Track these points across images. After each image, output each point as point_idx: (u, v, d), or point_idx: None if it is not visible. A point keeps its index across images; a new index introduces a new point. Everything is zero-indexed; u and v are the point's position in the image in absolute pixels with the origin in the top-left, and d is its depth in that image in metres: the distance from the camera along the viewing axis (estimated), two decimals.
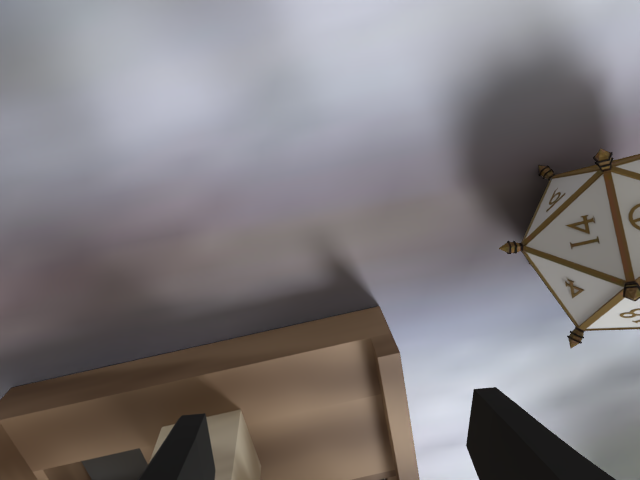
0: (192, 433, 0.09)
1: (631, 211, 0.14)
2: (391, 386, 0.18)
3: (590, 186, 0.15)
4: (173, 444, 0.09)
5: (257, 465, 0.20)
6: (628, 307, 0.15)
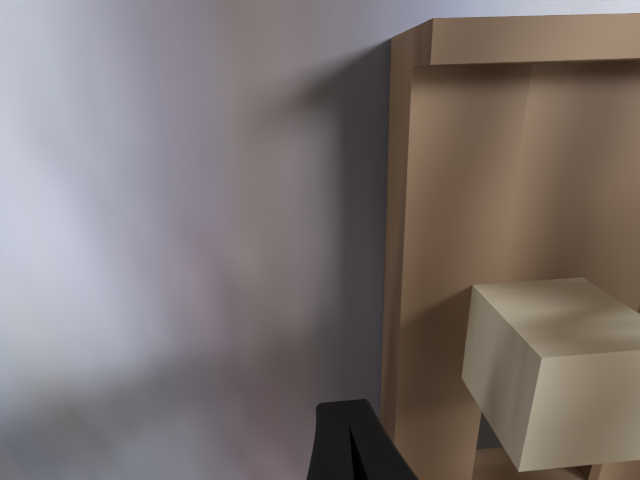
0: (342, 419, 0.09)
1: None
2: (500, 45, 0.10)
3: None
4: (330, 429, 0.09)
5: (574, 284, 0.14)
6: None
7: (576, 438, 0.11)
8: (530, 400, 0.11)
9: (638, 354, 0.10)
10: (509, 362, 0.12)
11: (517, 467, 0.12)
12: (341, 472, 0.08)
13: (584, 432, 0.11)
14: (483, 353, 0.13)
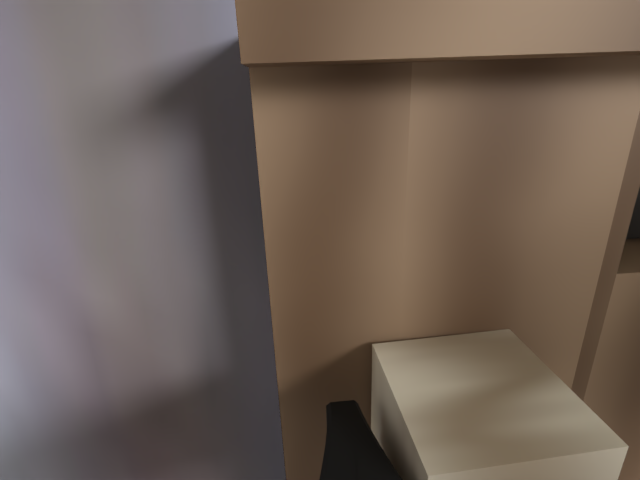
0: (353, 418, 0.09)
1: None
2: (338, 37, 0.07)
3: None
4: (341, 428, 0.09)
5: (497, 341, 0.11)
6: None
7: None
8: None
9: (561, 461, 0.08)
10: (402, 460, 0.09)
11: None
12: (354, 471, 0.08)
13: None
14: (383, 434, 0.10)
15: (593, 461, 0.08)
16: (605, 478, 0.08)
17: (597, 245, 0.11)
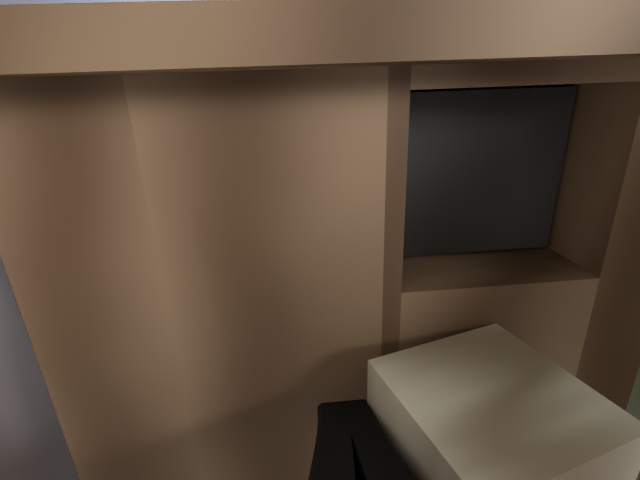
0: (344, 419, 0.09)
1: None
2: None
3: None
4: (331, 429, 0.09)
5: (490, 338, 0.10)
6: None
7: None
8: None
9: (600, 460, 0.07)
10: None
11: None
12: (343, 472, 0.08)
13: None
14: None
15: (625, 452, 0.07)
16: (633, 466, 0.08)
17: (373, 264, 0.10)
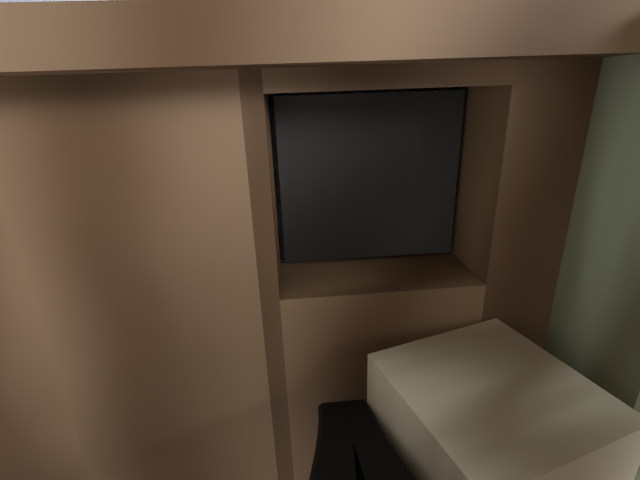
0: (345, 419, 0.09)
1: None
2: None
3: None
4: (332, 429, 0.09)
5: (490, 332, 0.10)
6: None
7: None
8: None
9: (601, 452, 0.07)
10: None
11: None
12: (344, 472, 0.08)
13: None
14: None
15: (626, 445, 0.07)
16: (633, 459, 0.08)
17: (246, 270, 0.10)
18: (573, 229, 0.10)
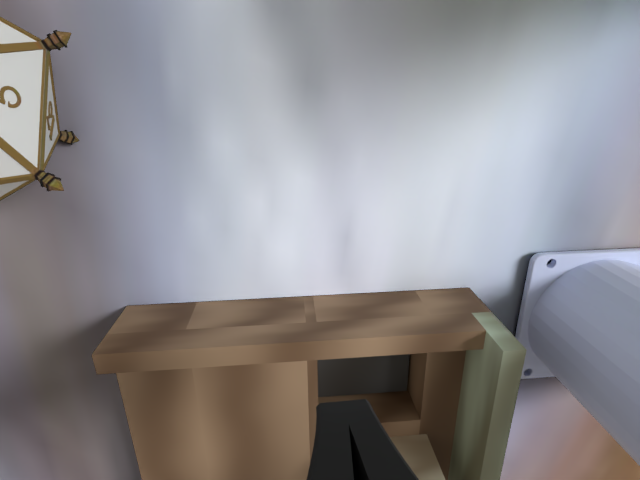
0: (342, 419, 0.09)
1: None
2: (137, 364, 0.17)
3: None
4: (330, 429, 0.09)
5: (417, 442, 0.21)
6: None
7: None
8: None
9: None
10: None
11: None
12: (341, 472, 0.08)
13: None
14: None
15: None
16: None
17: (303, 415, 0.21)
18: (461, 397, 0.21)
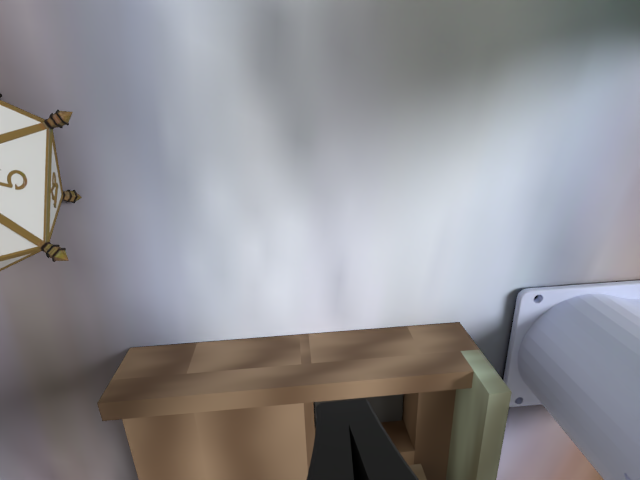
0: (342, 419, 0.09)
1: None
2: (140, 410, 0.18)
3: None
4: (330, 429, 0.09)
5: None
6: None
7: None
8: None
9: None
10: None
11: None
12: (341, 472, 0.08)
13: None
14: None
15: None
16: None
17: (301, 449, 0.21)
18: (453, 429, 0.22)
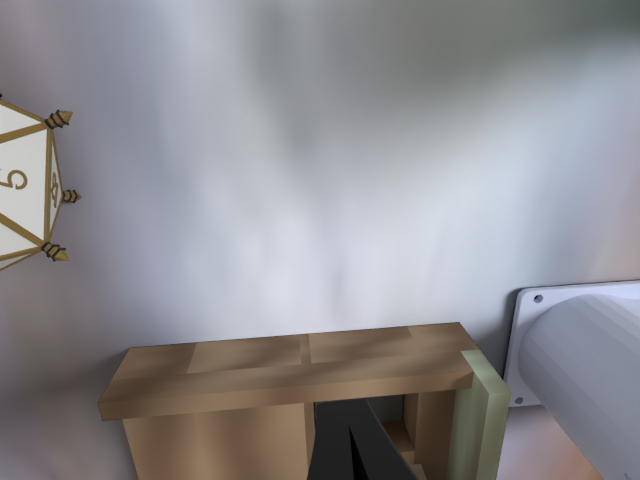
0: (342, 419, 0.09)
1: None
2: (140, 410, 0.18)
3: None
4: (330, 429, 0.09)
5: None
6: None
7: None
8: None
9: None
10: None
11: None
12: (341, 472, 0.08)
13: None
14: None
15: None
16: None
17: (301, 449, 0.21)
18: (453, 429, 0.22)
